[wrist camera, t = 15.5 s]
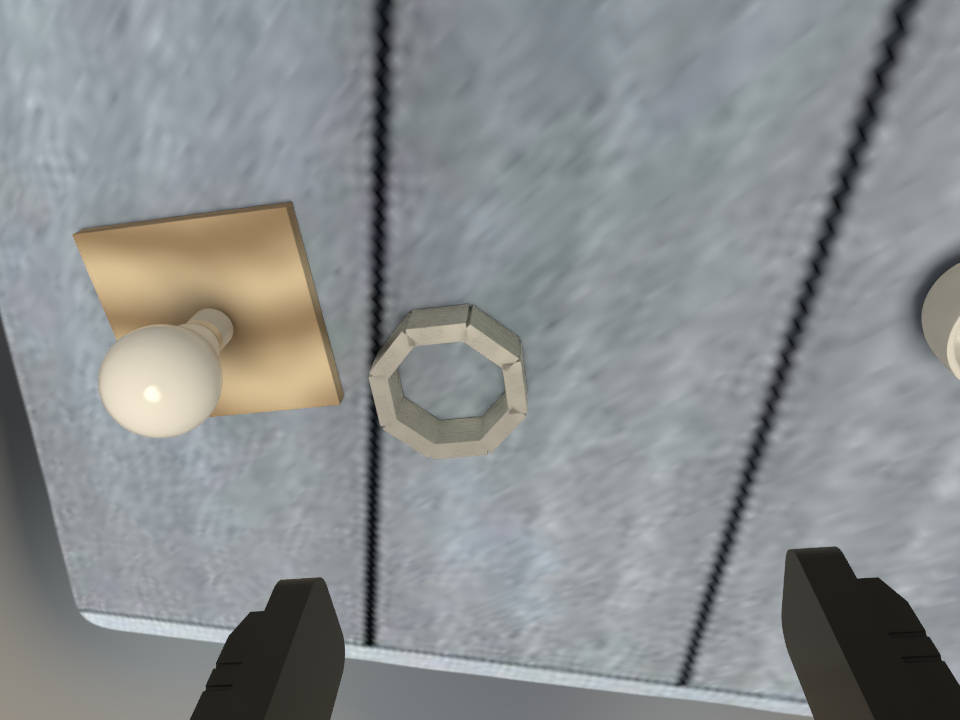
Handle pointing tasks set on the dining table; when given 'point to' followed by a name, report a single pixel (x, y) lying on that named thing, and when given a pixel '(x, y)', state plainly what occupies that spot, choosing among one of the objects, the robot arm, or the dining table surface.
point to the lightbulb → (166, 375)
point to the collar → (453, 433)
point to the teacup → (944, 319)
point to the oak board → (224, 298)
